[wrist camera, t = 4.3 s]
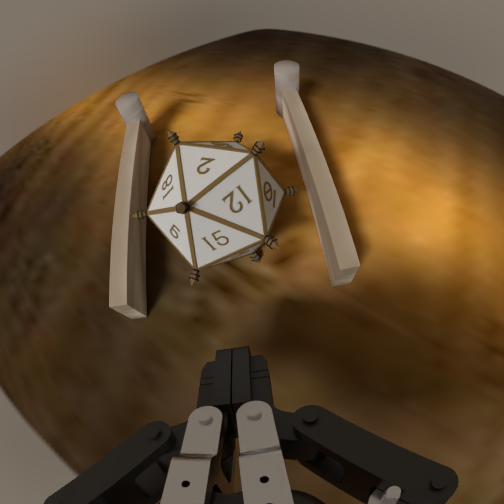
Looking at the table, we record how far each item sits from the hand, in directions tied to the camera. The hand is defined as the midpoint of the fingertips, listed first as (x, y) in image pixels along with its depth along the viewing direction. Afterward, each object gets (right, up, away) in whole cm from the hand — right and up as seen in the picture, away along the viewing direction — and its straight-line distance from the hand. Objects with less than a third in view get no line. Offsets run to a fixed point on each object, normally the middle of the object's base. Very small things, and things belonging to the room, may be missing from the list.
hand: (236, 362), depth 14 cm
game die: (-1, +6, +8) cm, 10 cm away
